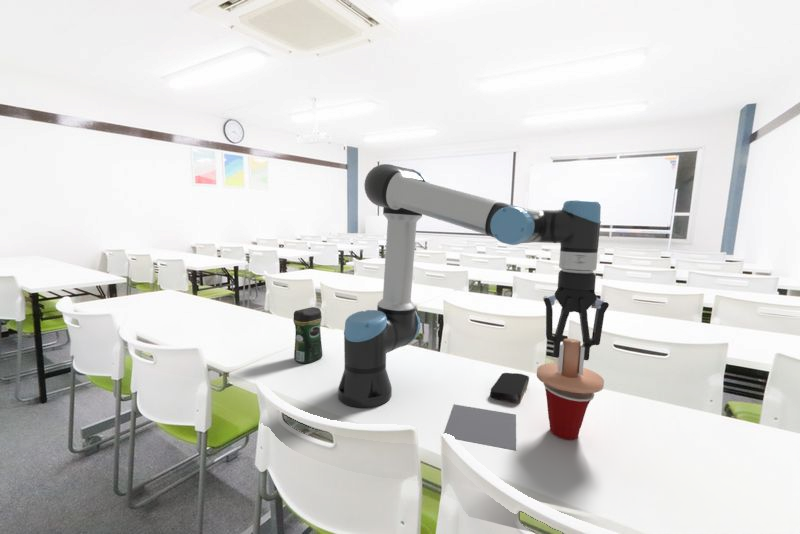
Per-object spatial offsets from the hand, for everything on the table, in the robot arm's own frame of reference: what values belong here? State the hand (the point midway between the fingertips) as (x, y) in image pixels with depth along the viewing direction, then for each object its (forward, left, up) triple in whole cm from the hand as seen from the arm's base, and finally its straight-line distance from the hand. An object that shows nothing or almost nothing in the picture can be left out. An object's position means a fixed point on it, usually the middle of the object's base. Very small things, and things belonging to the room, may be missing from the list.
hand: (569, 371), depth 84 cm
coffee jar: (-82, +22, -16) cm, 86 cm away
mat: (-19, -3, -16) cm, 25 cm away
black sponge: (-13, +19, -16) cm, 28 cm away
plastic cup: (0, 0, -16) cm, 16 cm away
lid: (0, 0, -2) cm, 2 cm away
